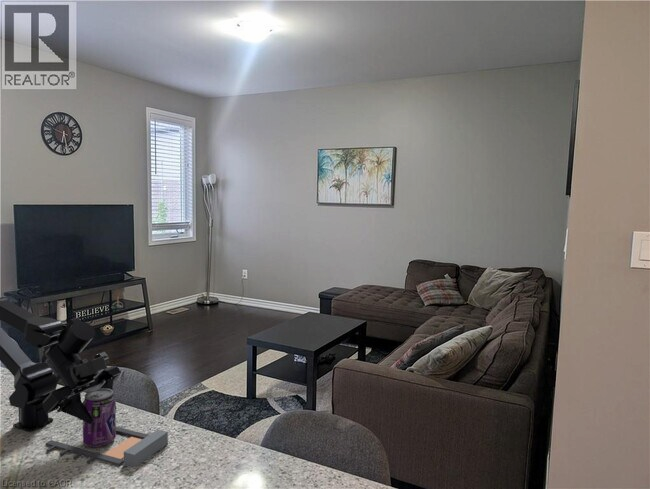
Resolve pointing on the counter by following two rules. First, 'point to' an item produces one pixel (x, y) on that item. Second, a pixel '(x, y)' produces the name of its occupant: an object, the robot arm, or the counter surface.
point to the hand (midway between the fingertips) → (103, 416)
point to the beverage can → (100, 417)
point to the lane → (120, 448)
